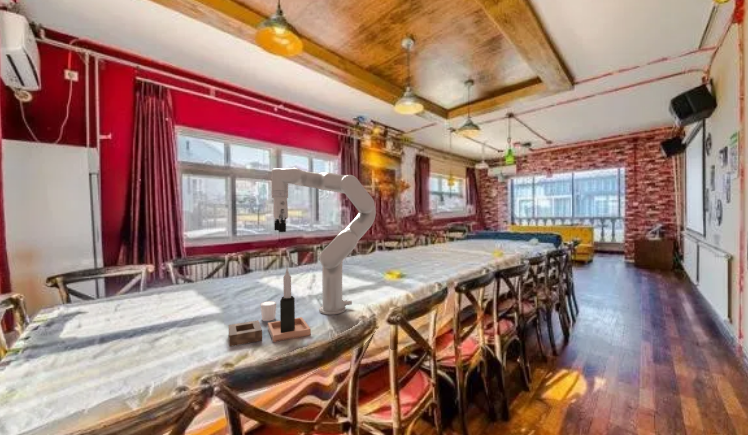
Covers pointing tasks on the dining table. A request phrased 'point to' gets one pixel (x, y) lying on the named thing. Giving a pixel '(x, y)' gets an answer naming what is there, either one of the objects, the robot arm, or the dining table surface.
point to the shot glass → (268, 310)
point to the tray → (299, 331)
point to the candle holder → (245, 333)
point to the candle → (287, 306)
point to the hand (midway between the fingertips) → (280, 231)
